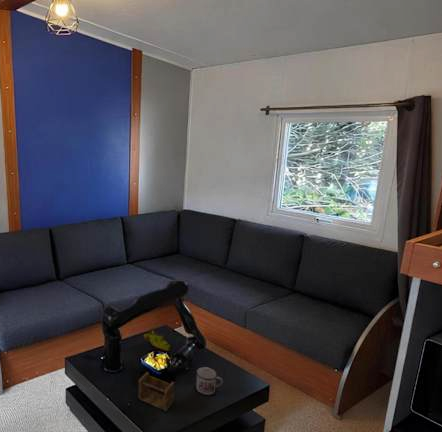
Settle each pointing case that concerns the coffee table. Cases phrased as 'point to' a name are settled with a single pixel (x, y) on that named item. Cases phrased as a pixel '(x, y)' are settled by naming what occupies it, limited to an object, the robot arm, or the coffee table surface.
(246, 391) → the coffee table surface
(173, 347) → the coffee table surface
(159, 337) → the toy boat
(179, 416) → the coffee table surface
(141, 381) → the wooden caddy
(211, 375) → the teacup with lid
